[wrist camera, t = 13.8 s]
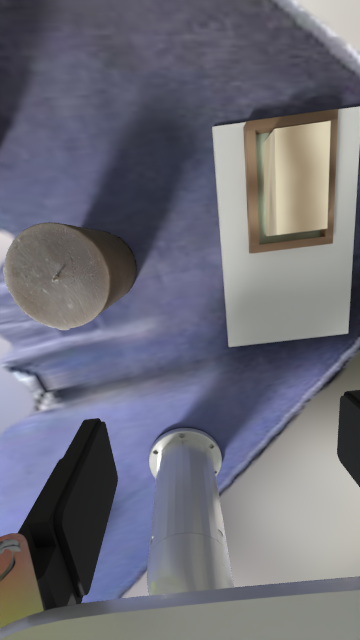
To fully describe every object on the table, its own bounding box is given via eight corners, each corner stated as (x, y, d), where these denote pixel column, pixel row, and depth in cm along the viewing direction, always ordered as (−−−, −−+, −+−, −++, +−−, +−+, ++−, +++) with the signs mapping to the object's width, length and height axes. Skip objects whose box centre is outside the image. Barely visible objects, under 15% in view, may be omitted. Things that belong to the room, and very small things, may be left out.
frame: (326, 243, 35) (332, 243, 33) (249, 253, 35) (252, 253, 34) (330, 115, 31) (338, 108, 29) (243, 127, 31) (246, 121, 30)
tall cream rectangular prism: (311, 136, 31) (330, 120, 27) (310, 230, 34) (327, 228, 30) (262, 143, 31) (274, 128, 28) (265, 236, 34) (276, 234, 30)
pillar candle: (130, 227, 35) (93, 211, 20) (141, 297, 37) (116, 328, 23) (60, 236, 35) (-25, 227, 21) (76, 305, 38) (11, 340, 23)
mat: (346, 332, 39) (348, 333, 38) (228, 345, 39) (229, 347, 39) (359, 108, 31) (362, 106, 31) (212, 128, 32) (212, 126, 31)
